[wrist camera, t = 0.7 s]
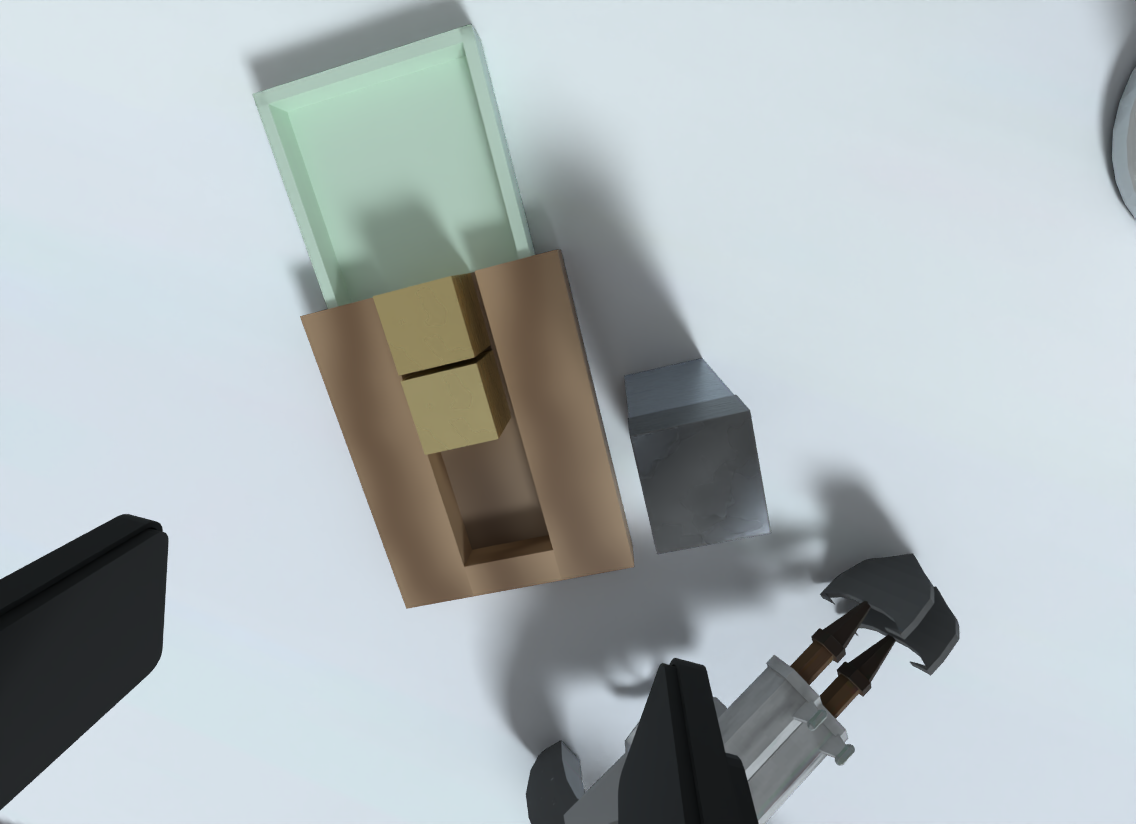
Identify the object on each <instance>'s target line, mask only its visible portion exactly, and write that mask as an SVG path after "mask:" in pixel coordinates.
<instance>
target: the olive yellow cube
mask: <svg viewBox="0 0 1136 824" xmlns="http://www.w3.org/2000/svg"><path fill="white" fill-rule="evenodd" d="M401 384H402V387H403V390H404V393H405V396H406V399H407V402H408V405H409V408H410V411H411V415H412V418H413V421H414V424H415V427H416V430H417V433H418V436H419V439H420V442H421V445H422V448H423V451H424V454H425V455H428V454H432V453H437V452H441V451H446V450H451V449H455V448H460V447H464V446H469V445H473V444H478V443H482V442H487V441H492V440H496V439H499V437H500V436H501V434H502V432H503V431H504V429H505V427H506V426H507V424H508V422H509V421H510V419H511V413H510V410H509V406H508V403H507V399H506V396H505V392H504V389H503V385H502V382H501V378H500V375H499V371H498V368H497V364H496V361H495V357H494V353H493V350H490V351H486V352H482V353H480V354H478V355H477V356H476V357H475V358H470V359H466V360H462V361H458V362H454V363H450V364H445V365H441V366H437V367H433V368H429V369H425V370H420V371H417V372H415V373H413V374H412V375H410V376H409V377H407V378H405V379H404V380H402V381H401Z"/></svg>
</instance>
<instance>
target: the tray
mask: <svg viewBox="0 0 1136 824" xmlns="http://www.w3.org/2000/svg"><path fill="white" fill-rule="evenodd" d="M253 97H254V100H255V103H256V106H257V109H258V112H259V114H260V117H261V120H262V123H263V126H264V129H265V131H266V134H267V137H268V140H269V143H270V146H271V149H272V151H273V154H274V157H275V160H276V163H277V166H278V169H279V171H280V174H281V177H282V180H283V183H284V186H285V188H286V191H287V194H288V197H289V200H290V203H291V206H292V208H293V211H294V214H295V217H296V220H297V223H298V226H299V228H300V231H301V234H302V237H303V240H304V243H305V245H306V248H307V251H308V254H309V257H310V260H311V263H312V265H313V268H314V271H315V274H316V277H317V280H318V283H319V285H320V288H321V291H322V294H323V297H324V300H325V302H326V305H327V308H328V309H330V308H334V307H338V306H342V305H346V304H350V303H353V302H357V301H361V300H365V299H369V298H373V296H376V295H380V294H384V293H387V292H391V291H395V290H399V289H403V288H407V287H410V286H414V285H418V284H422V283H426V282H430V281H433V280H437V279H441V278H445V277H449V276H454V275H460V274H467V273H472V272H475V271H476V270H480V269H484V268H487V267H491V266H495V265H499V264H503V263H507V262H510V261H514V260H518V259H522V258H526V257H530V256H533V255H535V251H534V248H533V244H532V240H531V236H530V232H529V228H528V224H527V220H526V216H525V212H524V208H523V204H522V200H521V196H520V192H519V188H518V185H517V181H516V177H515V173H514V169H513V165H512V161H511V157H510V153H509V149H508V145H507V141H506V137H505V133H504V129H503V125H502V122H501V118H500V114H499V110H498V106H497V102H496V98H495V94H494V90H493V86H492V82H491V78H490V74H489V70H488V66H487V62H486V59H485V55H484V51H483V47H482V43H481V39H480V38H479V36H478V34H477V33H476V31H475V29H474V28H473V26H472V24H469V25H466V26H463V27H460V28H457V29H454V30H450V31H447V32H444V33H441V34H438V35H435V36H432V37H429V38H426V39H422V40H419V41H416V42H413V43H410V44H407V45H404V46H401V47H398V48H394V49H391V50H388V51H385V52H382V53H379V54H376V55H373V56H370V57H366V58H363V59H360V60H357V61H354V62H351V63H348V64H345V65H342V66H338V67H335V68H332V69H329V70H326V71H323V72H320V73H317V74H313V75H310V76H307V77H304V78H301V79H298V80H295V81H292V82H289V83H285V84H282V85H279V86H276V87H273V88H270V89H267V90H264V91H261V92H257V93H254V94H253Z"/></svg>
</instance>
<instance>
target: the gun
mask: <svg viewBox="0 0 1136 824" xmlns="http://www.w3.org/2000/svg"><path fill="white" fill-rule="evenodd" d="M820 595H821V596H822V598H823V599H826V600H828V601H830V602H831V603H833V604H834V602H833V601H832V600H831V598H834V597H844V598H849V599H853V600H855V601H857V602H859V603H861V604H859V605H858V606H856V607H855V608H853V609H852V610H851V611H849V612H848V613H846V614H845V615H843V616H842V617H841V618H839V619H838V620H836V621H835V622H833V623H832V624H831V625H829V626H828V627H826V628H825V629H823V630H822V629H820V628H819V629H818V630H817V631H816V632H815V633H814V635H813V636H812V641H813V643H812V644H811V645H810V646H809V647H808V648H807V649H806V650H805V651H804V652H803V653H802V654H801V655H800V656H799V657H798V659H797V660H796V661H795V662H794V663H793V664H792V665H791V666H789V665H787V664H786V663H785V662H783V661H782V660H781V659H779V658H778V657H777V656H775V655H774V656H773V657H772V658H771V659H770V660H769V661H768V662H767V663H766V664H767V666H768V667H767V668H766V669H765V670H764V672H763V673H762V674H761V675H760V676H759V677H758V678H757V679H756V680H755V681H754V682H753V683H752V684H751V685H750V686H749V687H748V688H747V689H746V690H745V691H744V692H743V693H742V694H741V695H740V696H739V697H738V698H737V699H736V700H735V701H734V702H733V703H732V705H731V706H730V707H729V708H728V709H727V708H726V706H725V705H724V704H723V703H721V702H720V701H719V700H718V699H717V698H716V697H713V700H714V705H715V709H716V714H717V718H718V722H719V727H720V731H721V735H722V740H723V744H724V748H725V752H726V753H730V754H733V755H737V756H738V757H739V758H740V759H741V761H742V763H743V766H744V769H745V773H746V776H747V780H748V784H749V788H750V792H751V796H752V800H753V803H754V807H755V811H756V815H757V819H758V823H759V824H765V823H766V822H767V821H768V820H769V819H770V818H771V816H772V815H773V814H774V813H775V812H776V811H777V810H778V809H779V808H780V807H781V805H782V804H783V803H784V802H785V801H786V800H787V799H788V798H789V797H790V796H791V794H792V793H793V792H794V791H795V790H796V789H797V788H798V787H799V786H800V785H801V783H802V782H803V781H804V780H805V779H806V778H807V777H808V776H809V775H810V774H811V773H812V771H813V770H814V769H815V768H816V767H817V766H818V765H819V764H820V763H821V762H822V760H823V759H824V758H825V757H826V756H827V755H828V756H831V757H834V758H835V762H836V764H837V765H839V766H840V765H844V763H845V762H846V761H847V759H848V758H849V757H850V756H851V755H852V754H853V753H854V751H855V748H854V746H853V745H851V744H845V741H846V740H847V739H848V735H847V731H846V729H845V728H844V727H843V726H842V725H841V724H840V723H839V722H838V721H837V720H836V718H837V717H838V716H839V715H840V713H841V712H842V711H843V710H844V709H845V708H846V707H847V706H848V705H849V704H850V703H851V702H852V700H853V699H854V698H855V697H856V696H857V695H858V694H860V695H862V696H864V695H865V694H866V693H867V692H868V691H869V690H870V689H871V681H872V679H873V678H874V676H875V675H876V673H877V671H878V670H879V668H880V666H881V665H882V663H883V661H884V660H885V658H886V656H887V655H888V653H889V651H890V650H891V648H892V646H893V645H894V643H895V641H896V642H898V643H900V644H902V645H904V646H906V647H908V648H909V649H911V650H912V651H913V652H915V653H916V654H917V655H919V656H920V657H921V658H922V660H923V662H924V664H925V666H924V665H921V664H918V663H914V662H910V663H911V664H912V666H914V667H916V668H918V669H920V670H922V671H924V672H926V673H928V674H929V675H930V676H931V675H932V674H933V673H934V671H935V670H936V669H937V668H938V667H939V666H940V665H941V664H942V663H943V662H944V660H945V659H946V658H947V656H948V655H949V653H950V652H951V650H952V649H953V647H954V646H955V645H956V643H957V642H958V640H959V624H958V621H957V619H956V617H955V616H954V615H953V613H952V612H951V610H950V609H949V607H948V606H947V604H946V602H945V601H944V599H943V597H942V595H941V593H940V592H939V590H938V589H937V587H933V585H932V583H931V582H930V580H929V579H928V577H927V576H926V575H925V573H924V572H923V570H922V568H921V566H920V564H919V563H918V561H917V559H916V557H915V556H914V555H913V554H906V555H900V556H893V557H886V558H875V559H868V560H865V561H863V562H861V563H859V564H857V565H856V566H854V567H852V568H851V569H849V570H847V571H845V572H844V573H842V574H840V575H839V576H838V577H837V578H836V579H835V580H833V581H832V582H831V583H830V584H829V585H828V586H827V587H826V588H825V589H824V590H823V592H822V593H821V594H820ZM858 628H866V629H870V630H874V631H877V632H879V633H881V634H883V635H885V636H886V637H884V638H883V639H882V640H880V641H879V642H877V643H876V644H874V645H873V646H872V647H870V648H869V649H867V650H866V651H865V652H863V653H862V654H860V655H859V656H858V657H856V658H855V659H853V660H852V661H851V662H849V663H847V662H844V663H843V664H842V665H841V666H840V667H839V668H838V669H837V672H838V677H837V678H836V679H835V680H834V681H833V682H832V683H831V684H830V685H829V687H828V688H827V689H826V690H825V691H824V692H823V693H822V694H821V695H820V696H819V695H818V694H817V693H816V692H815V691H814V690H813V689H812V688H811V687H810V686H809V685H810V684H811V683H812V682H813V681H814V680H815V679H816V678H817V677H818V675H819V674H820V673H821V672H822V671H823V670H824V669H825V668H826V667H827V666H828V665H829V664H830V663H831V662H832V661H835V662H837V663H838V662H839V661H840V660H841V659H842V658H843V657H844V656H845V655H846V652H845V648H846V647H847V645H848V644H849V642H850V640H851V639H852V637H853V636H854V634H856V635H858V634H857V633H856V631H857V629H858ZM639 722H640V721H639ZM638 724H639V723H638ZM638 724H637V725H636V727H635V728H634V729H633V731H632V732H631V733H630V735H629V736H628V737H627V739H626V740H625V754H624V755H623V756H622V757H621V758H620V759H619V760H618V761H617V762H616V763H615V764H614V765H613V766H612V767H611V768H610V769H609V770H608V771H607V772H606V773H605V774H604V775H603V776H602V777H601V778H600V779H599V780H598V781H597V782H596V783H595V784H594V785H593V786H592V787H591V788H590V789H589V790H588V791H587V792H586V793H585V791H584V787H583V783H582V778H581V766H580V760H579V759H578V758H577V757H576V756H575V755H574V754H573V753H572V752H571V750H570V749H569V748H568V747H567V746H566V745H565V744H564V743H563V742H562V741H559V742H558V743H556V744H554V745H553V746H551V747H549V748H547V749H546V750H544V751H543V752H542V753H541V754H540V755H539V756H538V758H537V760H536V761H535V763H534V765H533V767H532V768H531V771H530V776H529V781H528V786H527V791H526V799H527V807H528V816H529V819H530V822H531V824H618V787H619V780H620V776H621V772H622V769H623V766H624V763H625V761H626V758H627V755H628V752H629V749H630V747H631V744H632V741H633V738H634V736H635V733H636V730H637V727H638Z"/></svg>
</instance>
